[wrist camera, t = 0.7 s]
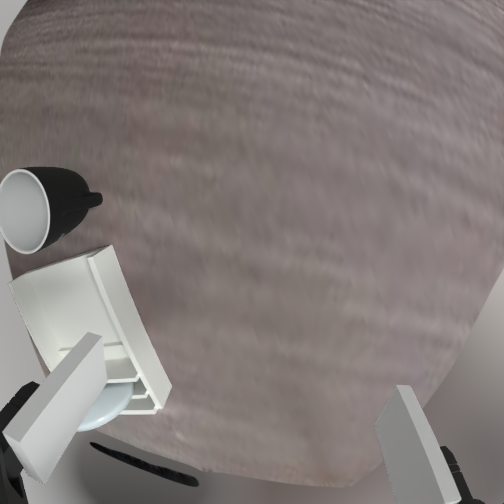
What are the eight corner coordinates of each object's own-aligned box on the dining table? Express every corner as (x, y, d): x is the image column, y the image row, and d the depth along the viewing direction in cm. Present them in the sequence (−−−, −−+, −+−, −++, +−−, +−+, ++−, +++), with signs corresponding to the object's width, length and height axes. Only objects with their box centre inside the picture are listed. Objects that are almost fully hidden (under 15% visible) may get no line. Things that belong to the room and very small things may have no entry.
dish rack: (27, 271, 39) (3, 285, 33) (112, 244, 36) (87, 259, 31) (86, 390, 44) (70, 412, 39) (172, 386, 42) (160, 413, 37)
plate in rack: (77, 368, 42) (36, 420, 29) (143, 363, 40) (107, 427, 28) (80, 374, 42) (40, 426, 30) (146, 369, 41) (112, 434, 28)
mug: (50, 232, 37) (1, 254, 27) (44, 166, 34) (-9, 174, 24) (123, 230, 36) (79, 256, 26) (118, 156, 33) (70, 158, 24)
